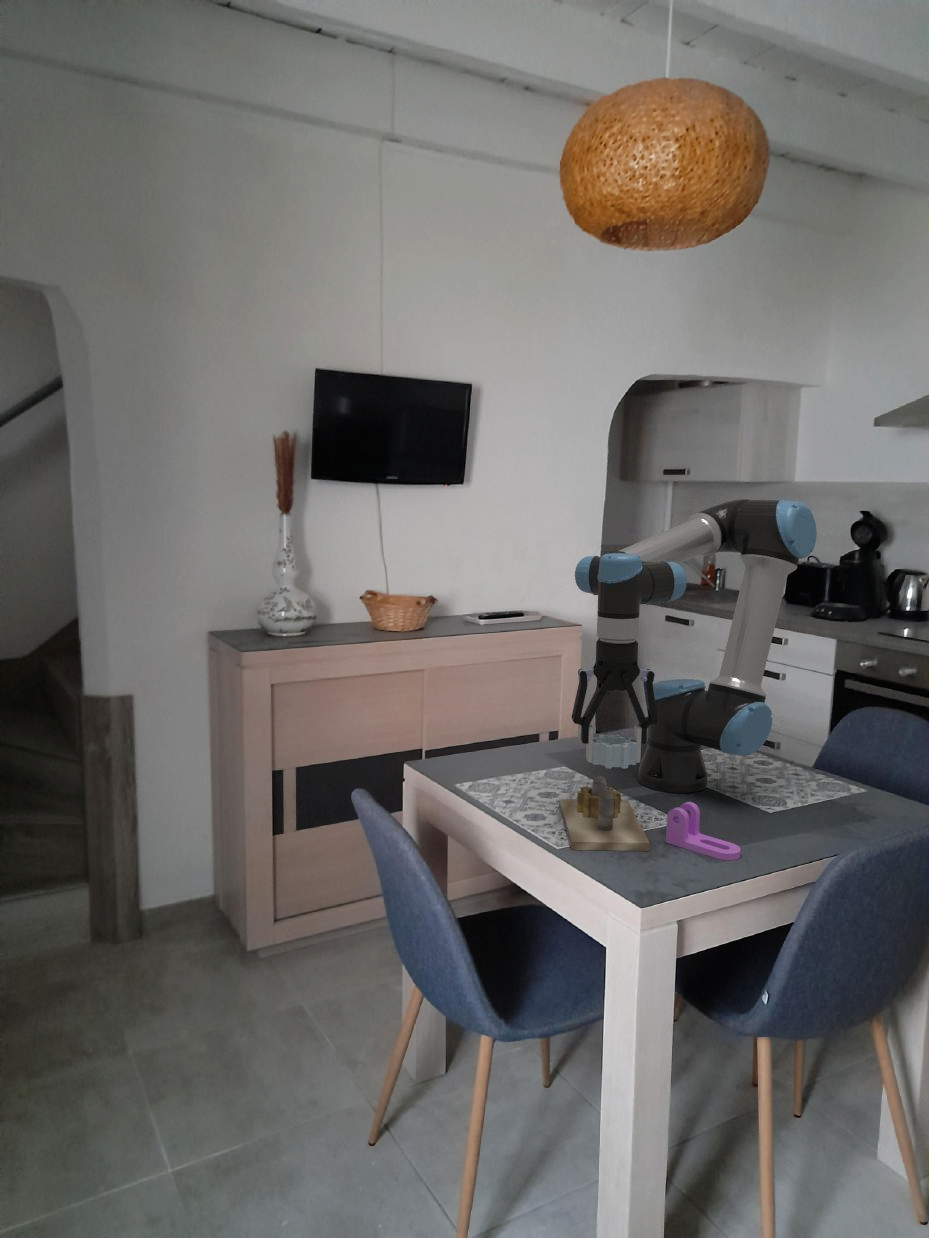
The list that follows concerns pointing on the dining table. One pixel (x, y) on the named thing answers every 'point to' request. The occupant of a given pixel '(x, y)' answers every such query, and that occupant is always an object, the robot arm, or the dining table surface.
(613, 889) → the dining table surface
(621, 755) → the gear
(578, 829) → the gear board
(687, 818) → the bracket
